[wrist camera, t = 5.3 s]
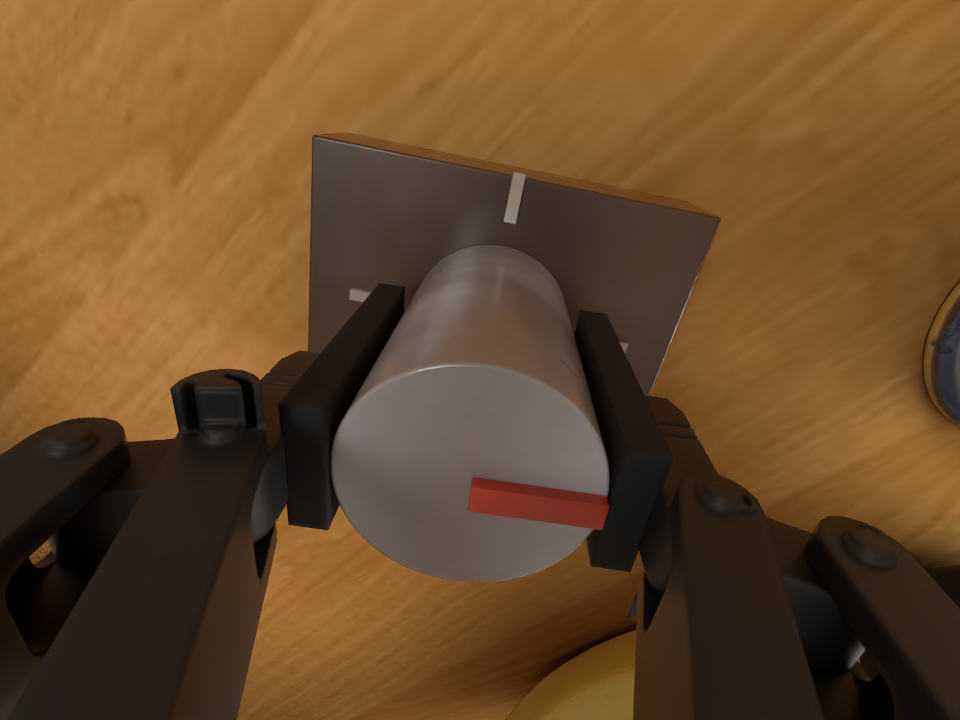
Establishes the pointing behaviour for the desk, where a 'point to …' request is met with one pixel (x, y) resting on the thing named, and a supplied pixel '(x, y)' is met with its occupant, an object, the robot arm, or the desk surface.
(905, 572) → the robot arm
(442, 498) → the dial
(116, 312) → the desk surface
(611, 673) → the banana
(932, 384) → the apothecary jar
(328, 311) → the dial panel
